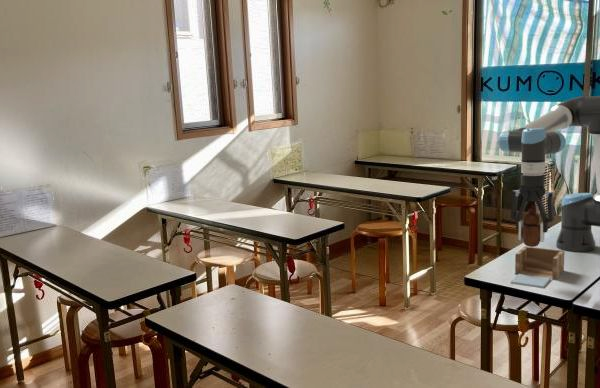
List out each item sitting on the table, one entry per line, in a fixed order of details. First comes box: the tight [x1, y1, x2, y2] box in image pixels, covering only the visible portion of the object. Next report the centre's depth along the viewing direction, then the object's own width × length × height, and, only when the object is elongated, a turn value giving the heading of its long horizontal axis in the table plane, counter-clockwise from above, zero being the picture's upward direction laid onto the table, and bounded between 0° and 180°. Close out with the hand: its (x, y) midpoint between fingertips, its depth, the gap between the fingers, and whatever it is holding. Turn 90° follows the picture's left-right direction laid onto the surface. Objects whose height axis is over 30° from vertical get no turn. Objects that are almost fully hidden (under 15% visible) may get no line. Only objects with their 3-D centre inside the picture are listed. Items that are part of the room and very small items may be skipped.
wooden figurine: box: [522, 203, 541, 248], centre depth 203 cm, size 7×6×15 cm
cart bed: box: [514, 245, 565, 281], centre depth 215 cm, size 13×14×9 cm
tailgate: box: [510, 274, 552, 289], centre depth 206 cm, size 1×11×10 cm
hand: (531, 240), depth 204 cm, fingers closed on wooden figurine, 6 cm apart
